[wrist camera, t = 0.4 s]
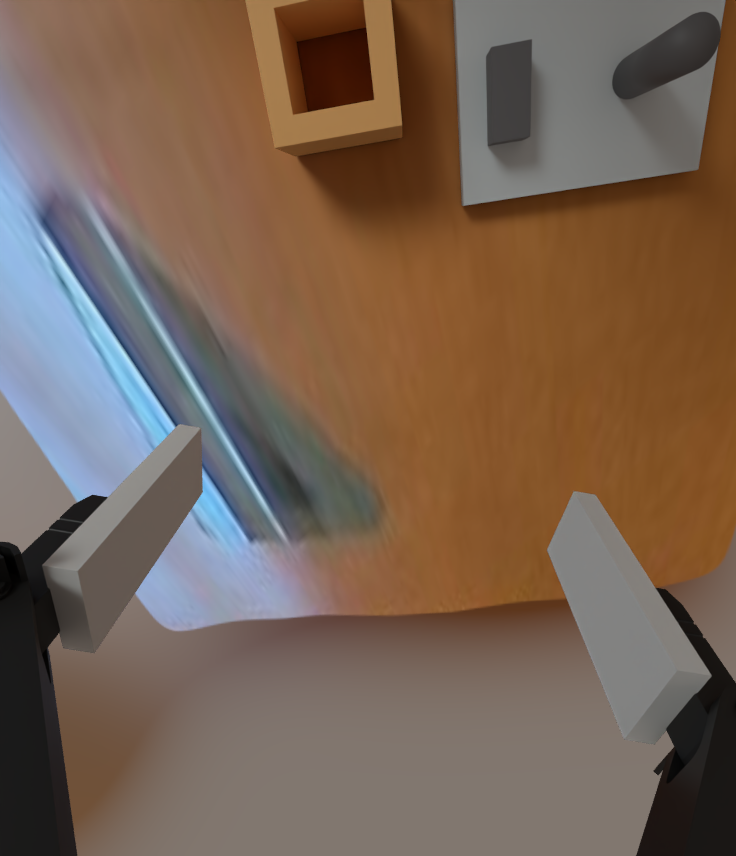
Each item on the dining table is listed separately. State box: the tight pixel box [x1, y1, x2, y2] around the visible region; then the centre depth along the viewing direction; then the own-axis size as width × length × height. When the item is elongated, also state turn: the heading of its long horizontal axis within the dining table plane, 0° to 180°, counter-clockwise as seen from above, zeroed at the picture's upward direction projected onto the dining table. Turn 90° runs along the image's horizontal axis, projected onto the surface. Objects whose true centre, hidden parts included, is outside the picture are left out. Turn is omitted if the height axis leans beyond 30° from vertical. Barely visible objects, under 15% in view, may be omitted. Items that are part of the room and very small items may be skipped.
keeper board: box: [453, 0, 726, 206], centre depth 27 cm, size 12×16×8 cm
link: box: [245, 0, 402, 156], centre depth 28 cm, size 8×8×6 cm
